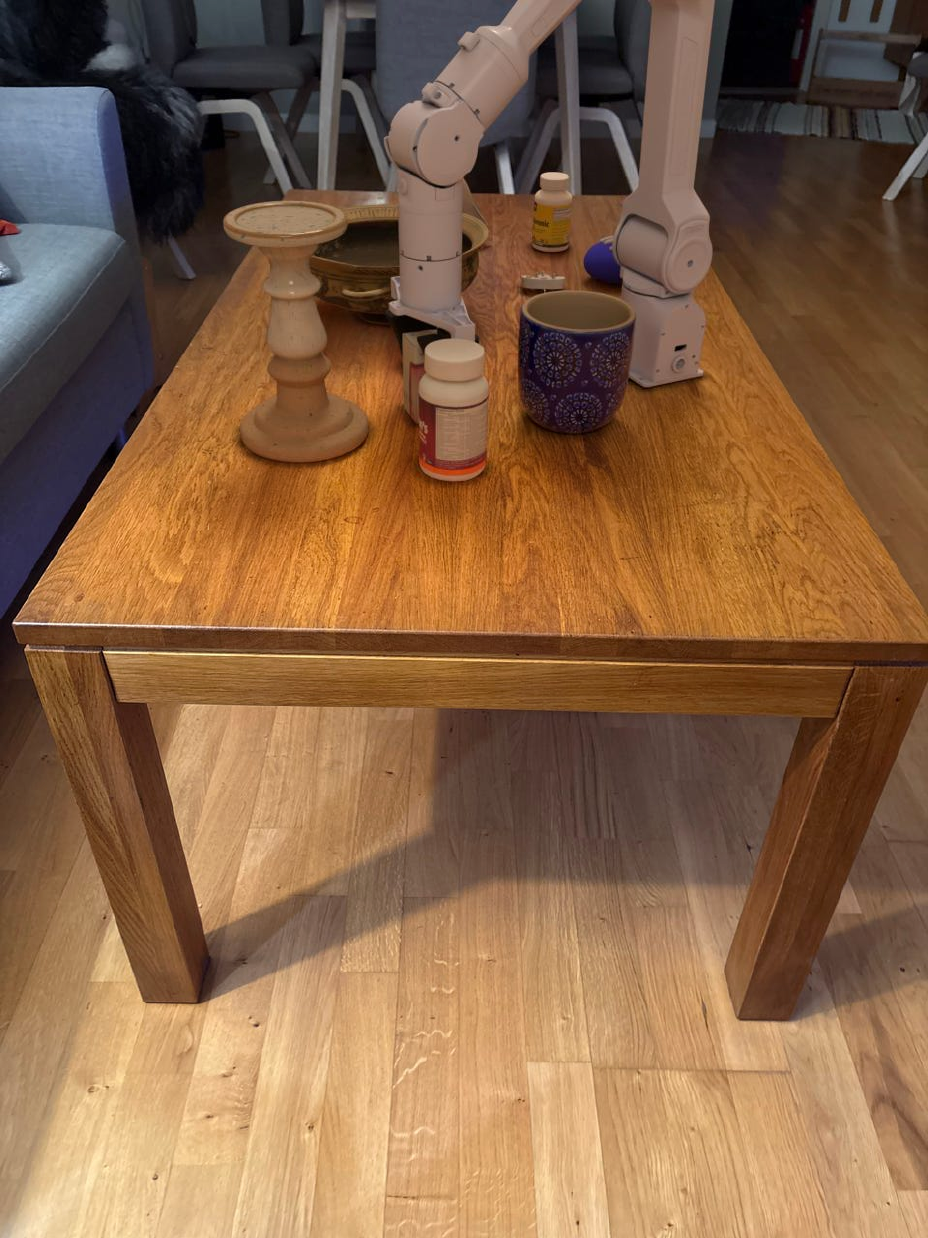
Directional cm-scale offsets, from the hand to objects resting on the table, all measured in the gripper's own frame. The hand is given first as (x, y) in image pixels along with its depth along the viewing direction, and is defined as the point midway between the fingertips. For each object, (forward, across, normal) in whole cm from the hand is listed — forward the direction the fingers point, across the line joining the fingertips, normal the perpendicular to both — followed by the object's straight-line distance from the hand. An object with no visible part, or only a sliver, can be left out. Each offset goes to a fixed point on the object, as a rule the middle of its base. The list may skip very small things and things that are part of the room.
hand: (431, 391), depth 97 cm
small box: (+3, 0, 0) cm, 3 cm away
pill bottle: (+3, +11, -3) cm, 12 cm away
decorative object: (+3, -25, +40) cm, 47 cm away
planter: (+3, +7, +12) cm, 14 cm away
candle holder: (+2, -1, -13) cm, 13 cm away
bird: (+3, -48, +25) cm, 54 cm away
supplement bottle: (+3, -42, +39) cm, 57 cm away
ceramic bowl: (+3, -27, +7) cm, 28 cm away
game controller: (+3, -24, +27) cm, 36 cm away
